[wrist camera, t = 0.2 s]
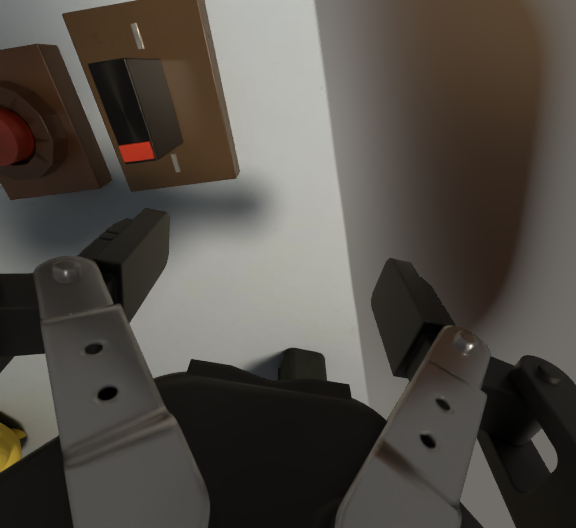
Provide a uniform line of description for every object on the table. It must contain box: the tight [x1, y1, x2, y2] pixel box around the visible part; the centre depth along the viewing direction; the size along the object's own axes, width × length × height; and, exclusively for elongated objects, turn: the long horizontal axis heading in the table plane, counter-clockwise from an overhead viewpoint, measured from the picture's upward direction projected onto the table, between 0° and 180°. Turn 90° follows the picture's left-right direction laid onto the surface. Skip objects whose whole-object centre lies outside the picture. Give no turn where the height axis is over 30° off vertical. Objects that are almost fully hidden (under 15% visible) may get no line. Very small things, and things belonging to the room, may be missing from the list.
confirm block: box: [0, 44, 113, 200], centre depth 25 cm, size 10×8×4 cm
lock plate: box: [62, 0, 240, 192], centre depth 25 cm, size 12×9×2 cm
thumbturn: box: [88, 58, 183, 165], centre depth 21 cm, size 6×2×6 cm, turn 7°
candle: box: [278, 348, 327, 381], centre depth 30 cm, size 5×5×25 cm
